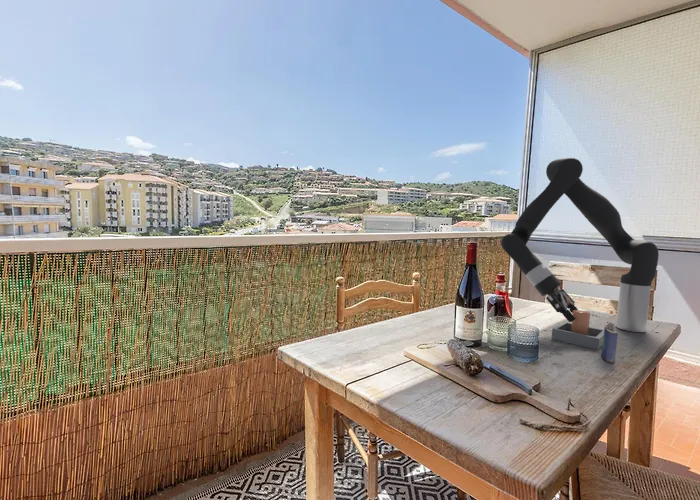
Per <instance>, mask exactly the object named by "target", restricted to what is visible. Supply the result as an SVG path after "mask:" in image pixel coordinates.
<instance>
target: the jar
mask: <svg viewBox="0 0 700 500" xmlns="http://www.w3.org/2000/svg"><path fill="white" fill-rule="evenodd" d="M572 315H573V316H574V317H575V320H573V321H572V322H571V323H572V324H571V332H574V333H579V334H584V335H588V330H589V327H590V321H591V319H590V317H591V312H590V311H585V310H580V309H578V310H573V314H572Z"/></svg>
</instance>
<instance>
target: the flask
mask: <svg viewBox="0 0 700 500" xmlns="http://www.w3.org/2000/svg"><path fill="white" fill-rule="evenodd" d="M603 330H604V338H603V345H602V346H601V354H600V357H601V358H602V359H603V361H604V362H606V363H609V364H614V363H615V362H616V353H617V344H618V337H619V333H618V331H617V329H616V322H615V323H613V322H610V321H607V322H606V325H605V326H604V329H603Z"/></svg>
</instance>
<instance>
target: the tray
mask: <svg viewBox="0 0 700 500" xmlns="http://www.w3.org/2000/svg"><path fill="white" fill-rule="evenodd" d="M571 324H572V322H569V321H568V322H567V321H563V322H561V323H559V324H558V325H556V326H555V327H553V328H552V331H551V340H556V341H558V342H564V343H568V344H571V345H576V346H581V347H584V348H587V349H589V348H590V349H593V350H597V351H598V350H599V349H601V348H602V346H603V338H604V329H602V328H599V327H592V326H589V330H588V335H584V334H579V333H574V332H571Z"/></svg>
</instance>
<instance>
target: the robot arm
mask: <svg viewBox="0 0 700 500" xmlns="http://www.w3.org/2000/svg"><path fill="white" fill-rule="evenodd" d="M583 170H584V168H583V164H582V162H581V161H580V159H578V158H575V157H565V158H563V157H562V158H557V159H555V160H552V161H551V162H549V163H548V165H547V167H546V171H545V173H546V176H547V179H548V180H549V181H550V182H549V183H548V185H547V186H546V187H545V188H544V189H543V191H542V192H541V193H540V194H539V195H537V197H535V198H534V199H533V200H532V201H531V202H530V203H529V204H528V205H527V207H526V208H525V209H524V210H523V212H522V213H521V215H520V216H519V218H517V221H516V223H515V225H514V228H513V230H512V231H511V233H507V234H506V235H504V236H503V237H502V239H501V242H500V245H501V248H502V249H503V251H504V252H506V254H507V255H508V256H509V257H510V258H511V259H512V260H513V261H514V262H515V264H516V265H517V267H518V268H519V269H520V271H521V272H522V273H523V274H524V275H525V277H526V279H528V281H529V282H530V284H531V285H533V287H534V288H535V290H536V291H537V292H538V293H539V294H540V296H542V297H545V296H546V297H545V299H546V301H548V303H549V304H550V306H552V308H553V309H554V310H555V312H557V313H559V314H562V316H563V317H564V318H565V319H566V321H568V322H569V323H572V321H573V320H575V317H574V316H573V310H579V309H578V308H577V307H576V304H575V303H576V302H575V300H573V298H571V296H570V295H569V294H568V293H567V291H565V289H563V288H562V289H561V290H560V289H559V288H560V287H561V286H562V283H561V281H559V279H558V277H556V275H555V274H553V273H552V271H551V270H550V269H549V268H548V267H547V266H546V265H545V264H543V262H542V261H541V260H540V259H539V258H538V257H537V255H535V254H534V253H533V252H532V251H531V249H529V247H528V246H527V244H528V241H529V240H530V238H531V236H532V235H533V233H534V232H535V231H536V229H537V228H538V227H539V226H540V224H541V222H542V221H543V220H544V219H545V217H546V216H547V214H548V213H549V212H550V210H551V209H552V208H553V207H554V205H555V204H556V203H557V202H558V201H559V200H560V199H561V197H563V196H564V195H565V196H566V197H567V198H568V199H569V200H570V202H571V203H572V204H573V205H574V206H575V207H576V208H577V210H579V212H580V213H581V214H582V215H583V217H584V218H585V219H586V220H587V221H588V222H589V224H590V225H592V226H593V227H594V228H595V230H597V232H598V233H599V234H600V235H601V236H602V237H603V238H604V239H605V240H606V241H607V242H608V244H609V246H610V247H611V248H612V249H613V251H614V252H615V254H616V256H617V257H618V258H619V259H620V260H621V261H622V262H623V263H626V264H628V265H631V266H630V270H629V271H628V272H627V273H624V274H622V275H621V277H620V285H619V293H618V301H617V311H616V320H615V328H618V329H620V330H624V331H627V332H634V333H646V332H647V326H648V325H647V324H648V318H649V309H650V308H649V307H650V300H651V299H650V298H651V292H652V291H651V290H652V283H653V281H654V279H655V277H656V273H657V268H658V262H659V249H658V246H657V245H656V244H654V243H653V242H650V241H645V240H636V239H634V238H633V237H632V236H631V235H630V234H629V233H628V232H627V231H626V230H625V229H624V227H623V225H622V219H621V218H622V217H621V215H620V212H619V211H618V209H617V208H616V207H615V206H614V205H613V204H612V203H611V201H610V200H609V199H608V198H607V197H605V196H604V195H602V194H601V193H600V192H598V191H597V190H595V189H594V188H592V187H590V186H588V185H587V184H586V183H585V182H583V180H582V179H581V178H580V177H581V176H582V174H583Z"/></svg>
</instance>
